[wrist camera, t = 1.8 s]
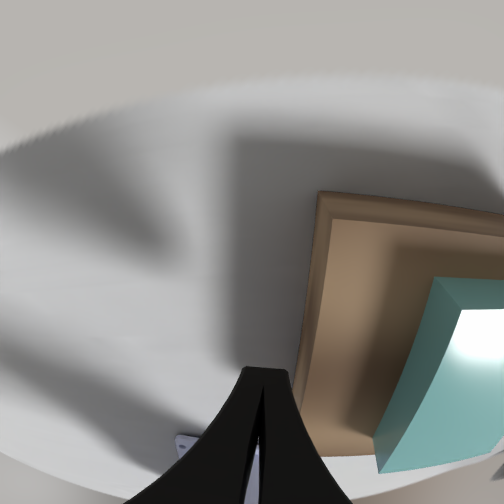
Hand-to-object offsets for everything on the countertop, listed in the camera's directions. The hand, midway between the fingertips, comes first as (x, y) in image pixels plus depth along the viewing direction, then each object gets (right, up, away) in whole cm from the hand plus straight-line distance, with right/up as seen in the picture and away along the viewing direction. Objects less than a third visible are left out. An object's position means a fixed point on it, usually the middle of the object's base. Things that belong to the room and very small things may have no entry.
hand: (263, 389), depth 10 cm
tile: (+8, 0, 0) cm, 8 cm away
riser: (+7, +1, +4) cm, 8 cm away
